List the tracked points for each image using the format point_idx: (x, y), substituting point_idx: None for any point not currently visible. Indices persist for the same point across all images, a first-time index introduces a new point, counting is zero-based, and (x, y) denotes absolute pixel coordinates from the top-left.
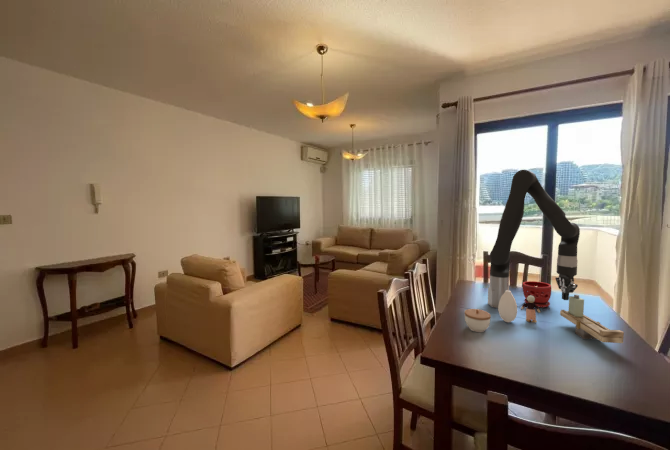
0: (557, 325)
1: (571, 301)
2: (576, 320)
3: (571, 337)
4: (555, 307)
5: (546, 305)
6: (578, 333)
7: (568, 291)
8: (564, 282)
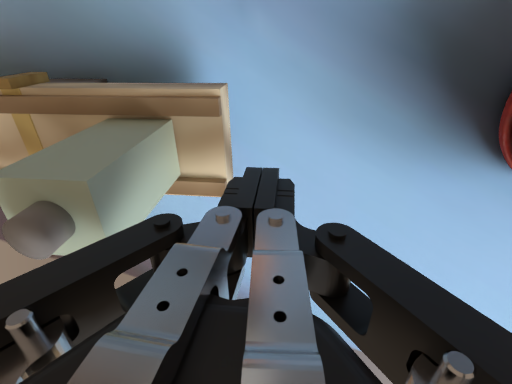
0: (195, 35)
1: (76, 159)
2: (45, 93)
3: (38, 20)
4: (488, 196)
5: (500, 136)
6: (75, 80)
7: (130, 234)
8: (112, 337)
